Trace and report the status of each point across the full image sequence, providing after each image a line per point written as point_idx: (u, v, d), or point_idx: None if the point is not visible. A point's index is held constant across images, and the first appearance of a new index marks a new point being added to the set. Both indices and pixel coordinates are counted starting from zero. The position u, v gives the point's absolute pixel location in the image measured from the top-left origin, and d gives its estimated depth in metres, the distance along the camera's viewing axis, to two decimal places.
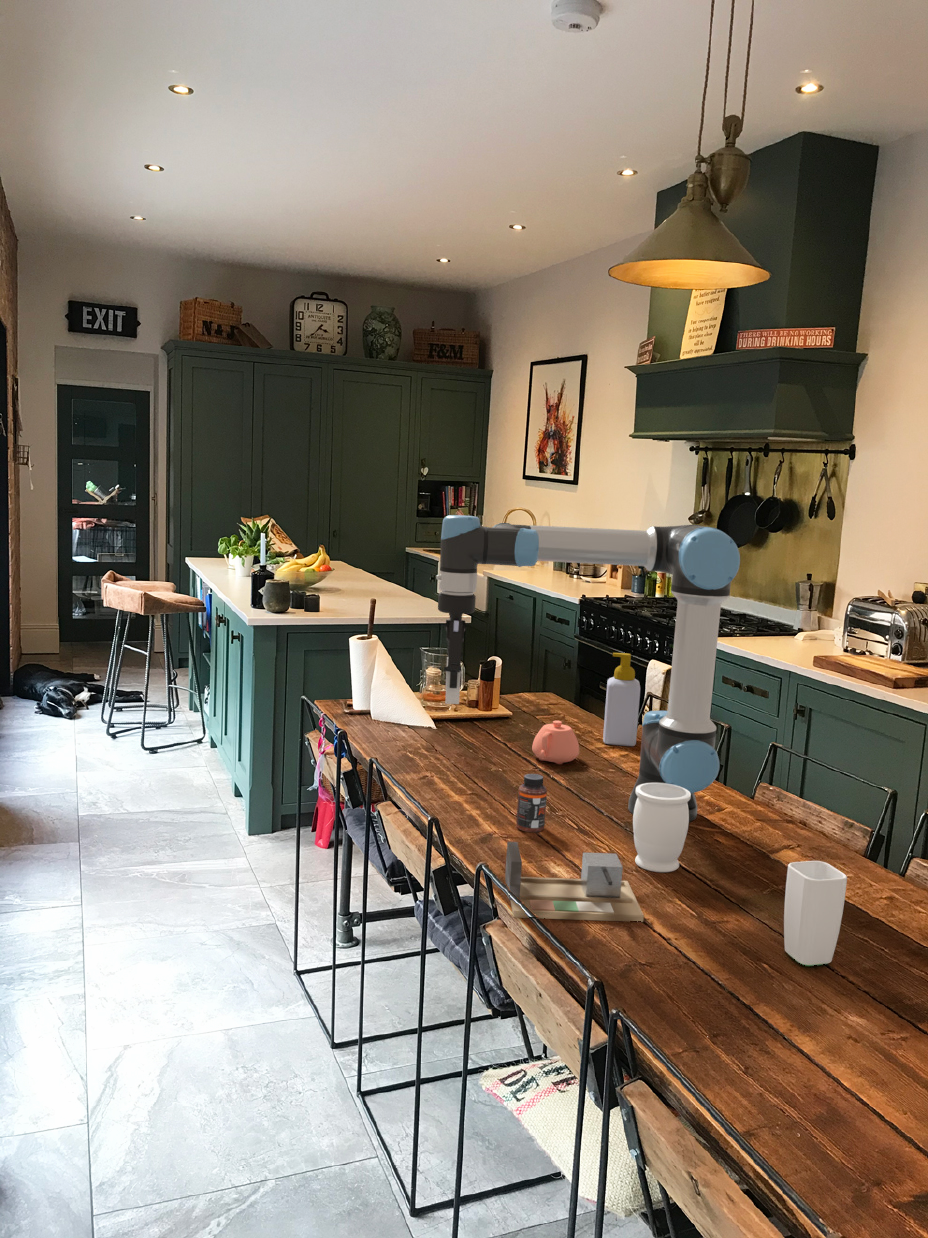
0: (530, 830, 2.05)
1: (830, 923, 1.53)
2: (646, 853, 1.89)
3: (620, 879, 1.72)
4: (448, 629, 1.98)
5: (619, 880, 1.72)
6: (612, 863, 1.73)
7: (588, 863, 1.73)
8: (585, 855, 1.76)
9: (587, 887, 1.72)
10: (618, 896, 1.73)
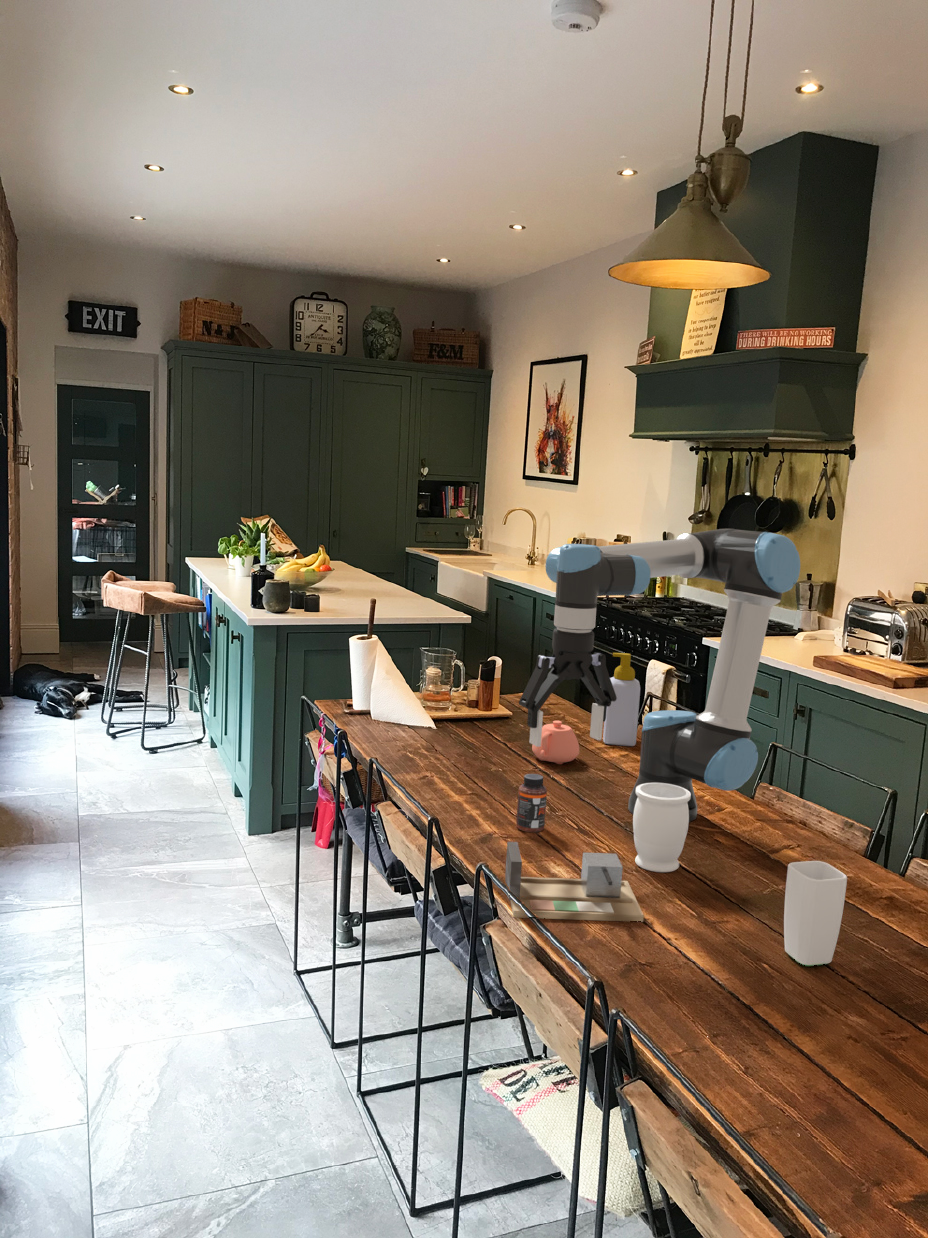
0: (530, 830, 2.05)
1: (830, 923, 1.53)
2: (646, 853, 1.89)
3: (620, 879, 1.72)
4: None
5: (619, 880, 1.72)
6: (612, 863, 1.73)
7: (588, 863, 1.73)
8: (585, 855, 1.76)
9: (587, 887, 1.72)
10: (618, 896, 1.73)
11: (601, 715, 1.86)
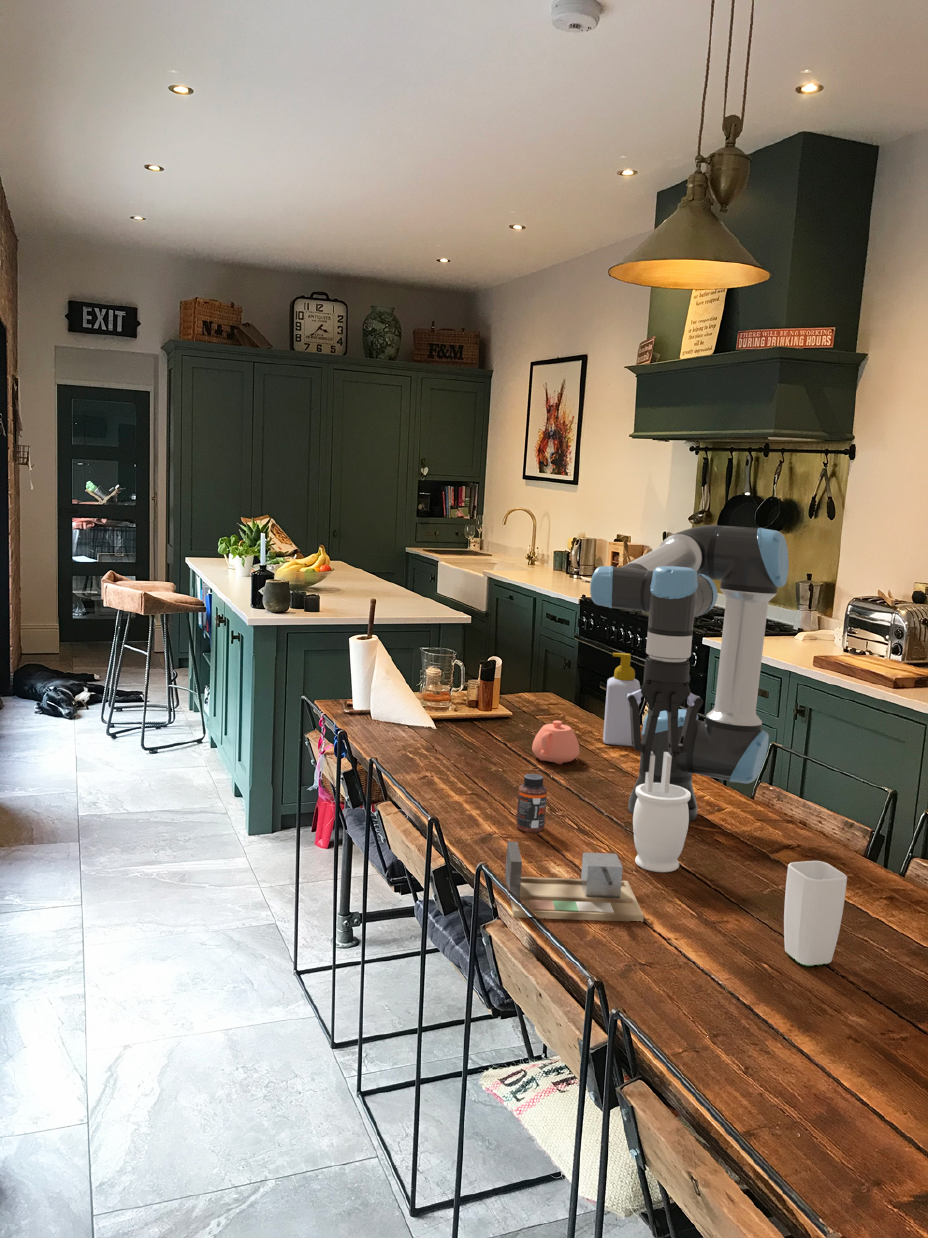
0: (530, 830, 2.05)
1: (830, 923, 1.53)
2: (646, 853, 1.89)
3: (620, 879, 1.72)
4: None
5: (619, 880, 1.72)
6: (612, 863, 1.73)
7: (588, 863, 1.73)
8: (585, 855, 1.76)
9: (587, 887, 1.72)
10: (618, 896, 1.73)
11: (668, 766, 1.71)
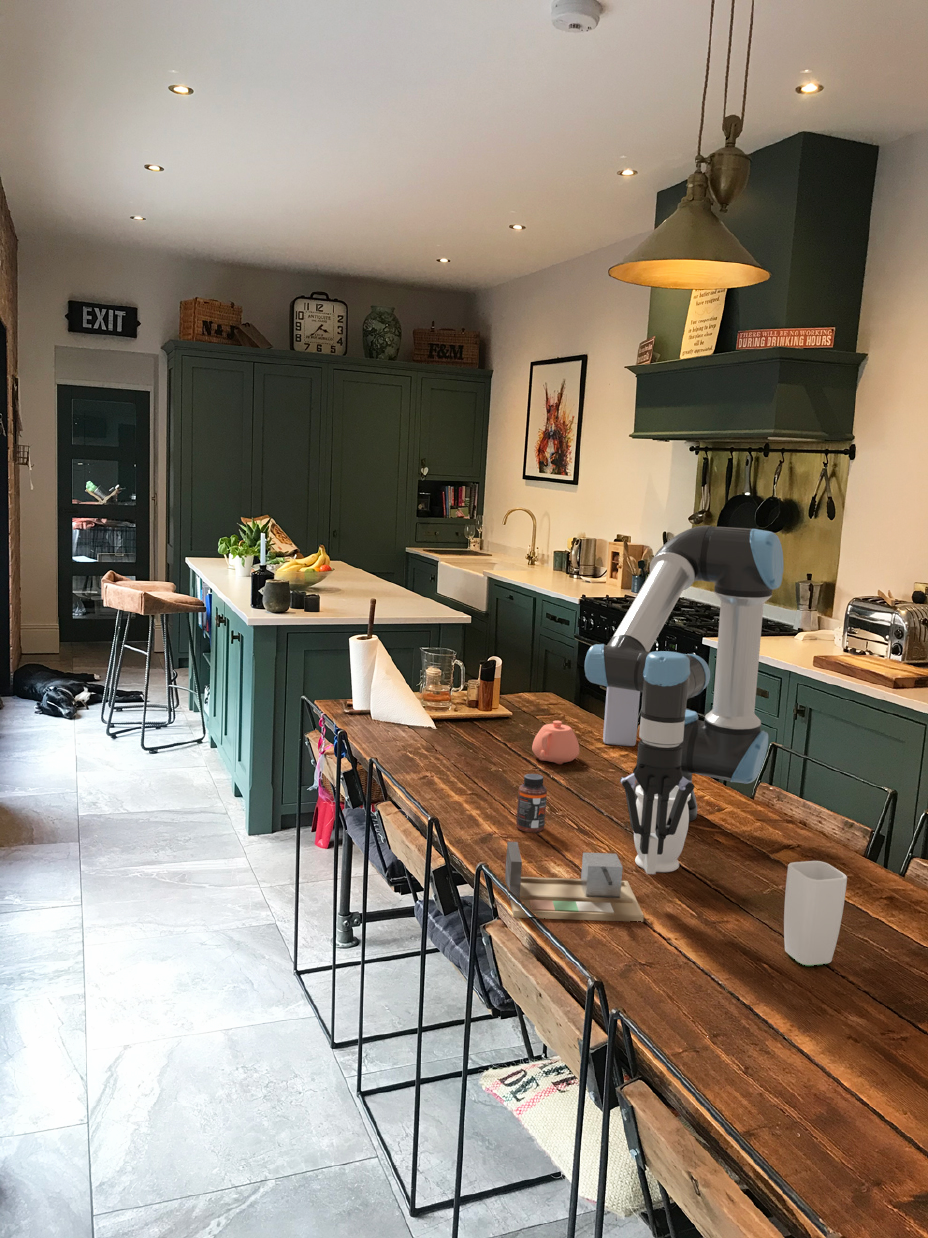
0: (530, 830, 2.05)
1: (830, 923, 1.53)
2: None
3: (620, 879, 1.72)
4: None
5: (619, 880, 1.72)
6: (612, 863, 1.73)
7: (588, 863, 1.73)
8: (585, 855, 1.76)
9: (587, 887, 1.72)
10: (618, 896, 1.73)
11: (655, 848, 1.73)
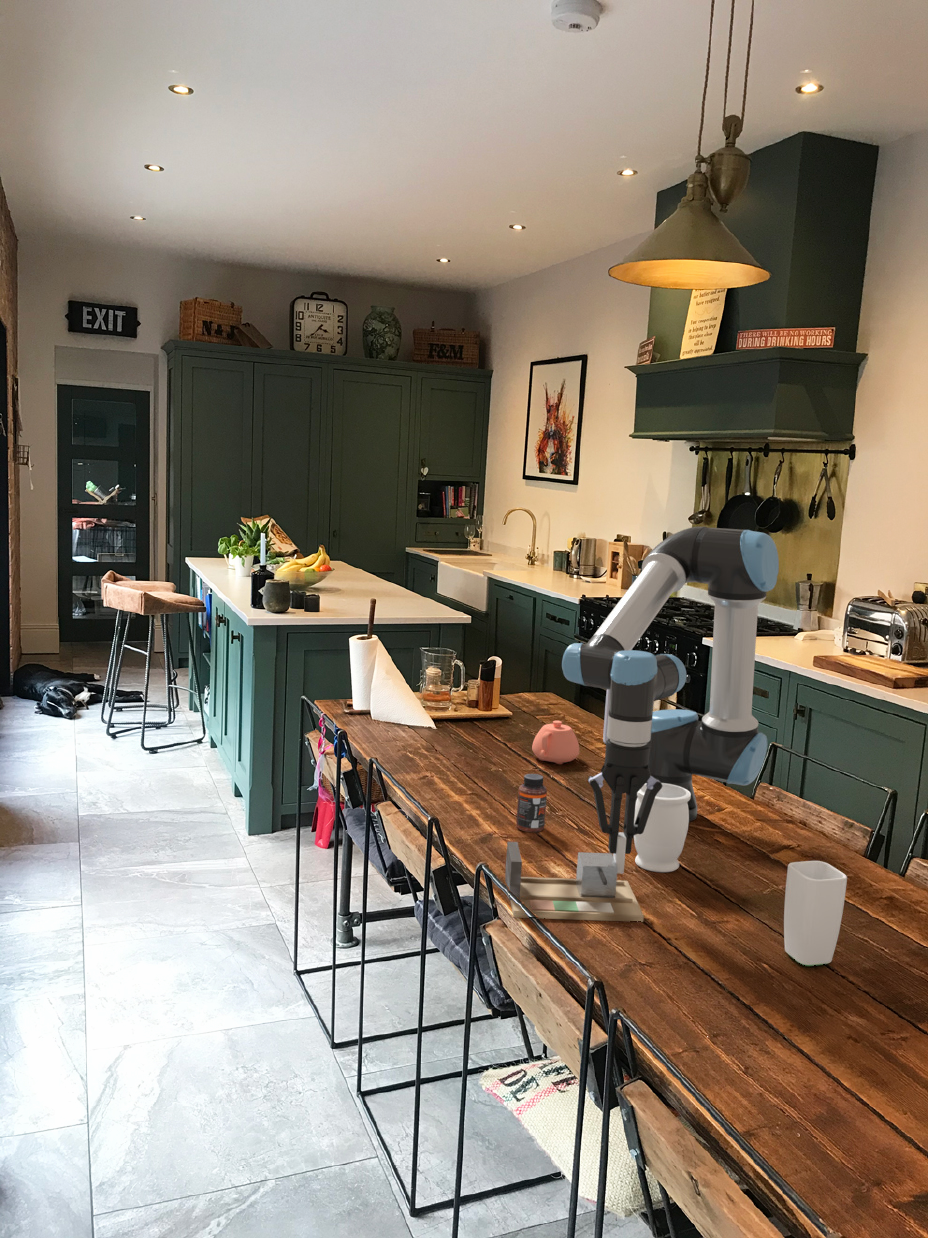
0: (530, 830, 2.05)
1: (830, 923, 1.53)
2: (646, 853, 1.89)
3: (615, 879, 1.72)
4: None
5: (614, 880, 1.72)
6: (607, 863, 1.73)
7: (583, 863, 1.73)
8: (580, 855, 1.76)
9: (582, 887, 1.72)
10: (613, 896, 1.73)
11: (623, 847, 1.73)
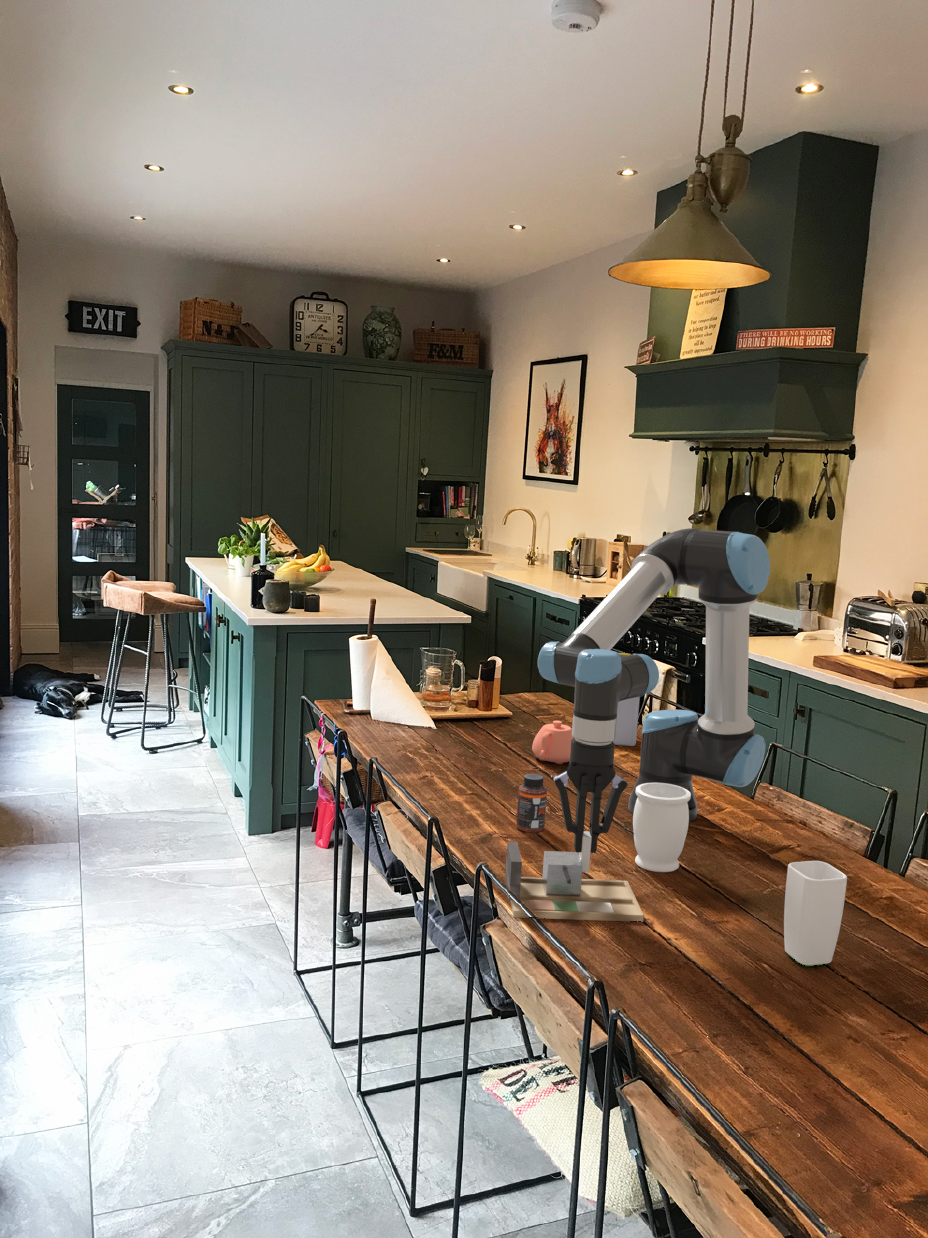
0: (530, 830, 2.05)
1: (830, 923, 1.53)
2: (646, 853, 1.89)
3: (580, 878, 1.72)
4: None
5: (579, 879, 1.72)
6: (573, 862, 1.73)
7: (548, 862, 1.72)
8: (546, 854, 1.76)
9: (547, 886, 1.72)
10: (578, 895, 1.72)
11: (588, 846, 1.73)
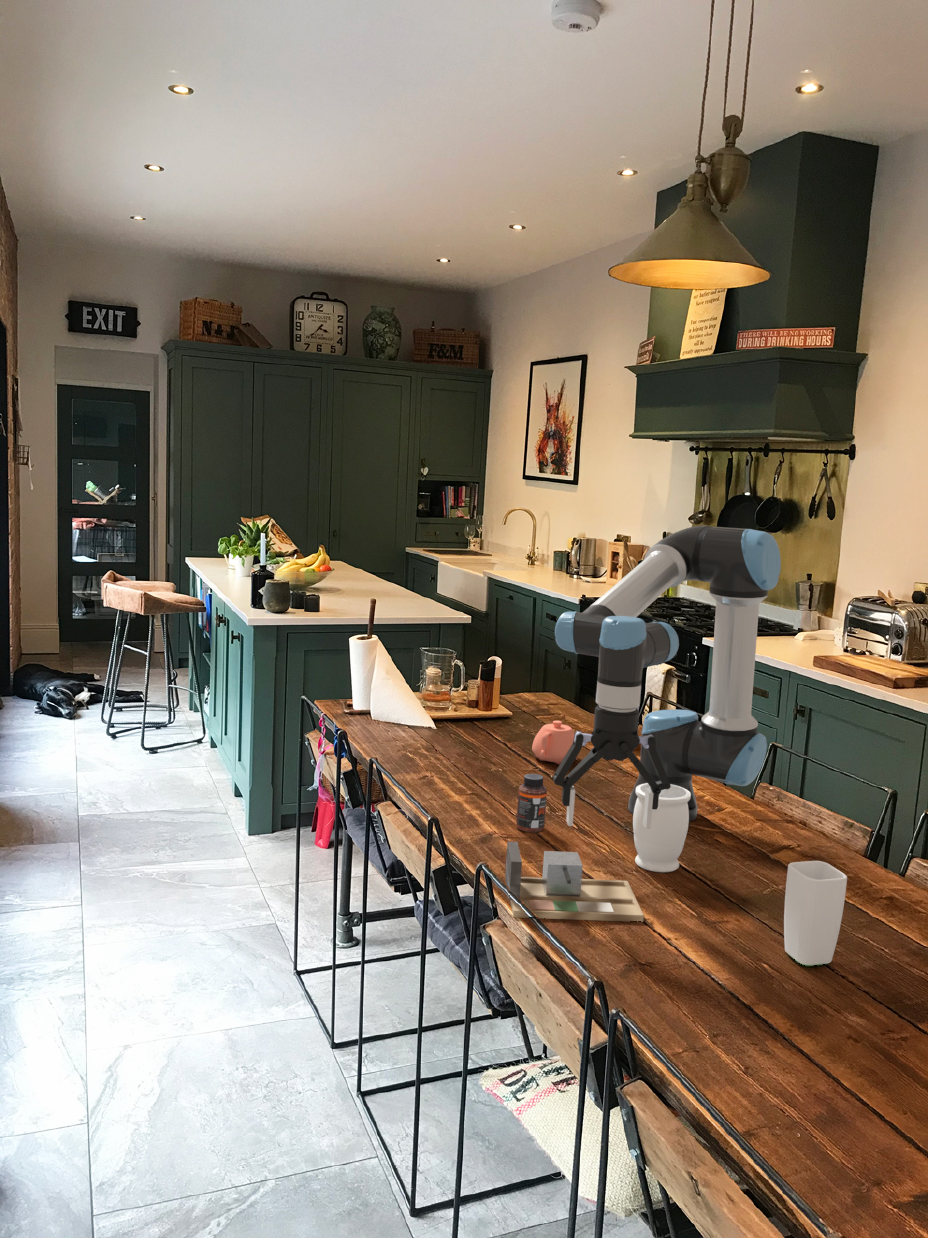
0: (530, 830, 2.05)
1: (830, 923, 1.53)
2: (646, 853, 1.89)
3: (580, 878, 1.72)
4: None
5: (579, 879, 1.72)
6: (573, 862, 1.73)
7: (548, 862, 1.72)
8: (546, 854, 1.76)
9: (547, 886, 1.72)
10: (578, 895, 1.72)
11: (650, 802, 1.72)
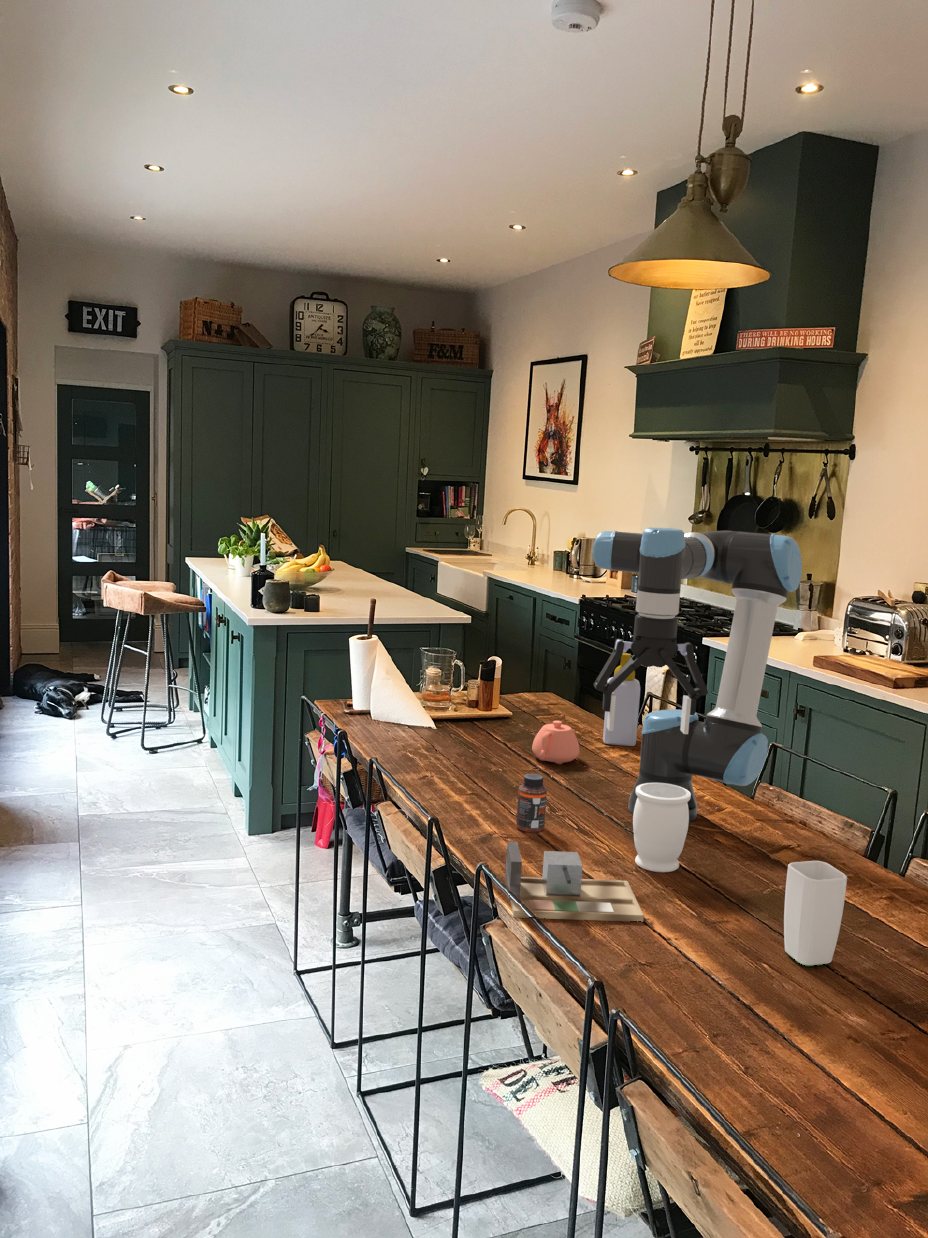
0: (530, 830, 2.05)
1: (830, 923, 1.53)
2: (646, 853, 1.89)
3: (580, 878, 1.72)
4: None
5: (579, 879, 1.72)
6: (573, 862, 1.73)
7: (548, 862, 1.72)
8: (546, 854, 1.76)
9: (547, 886, 1.72)
10: (578, 895, 1.72)
11: (688, 708, 1.78)
